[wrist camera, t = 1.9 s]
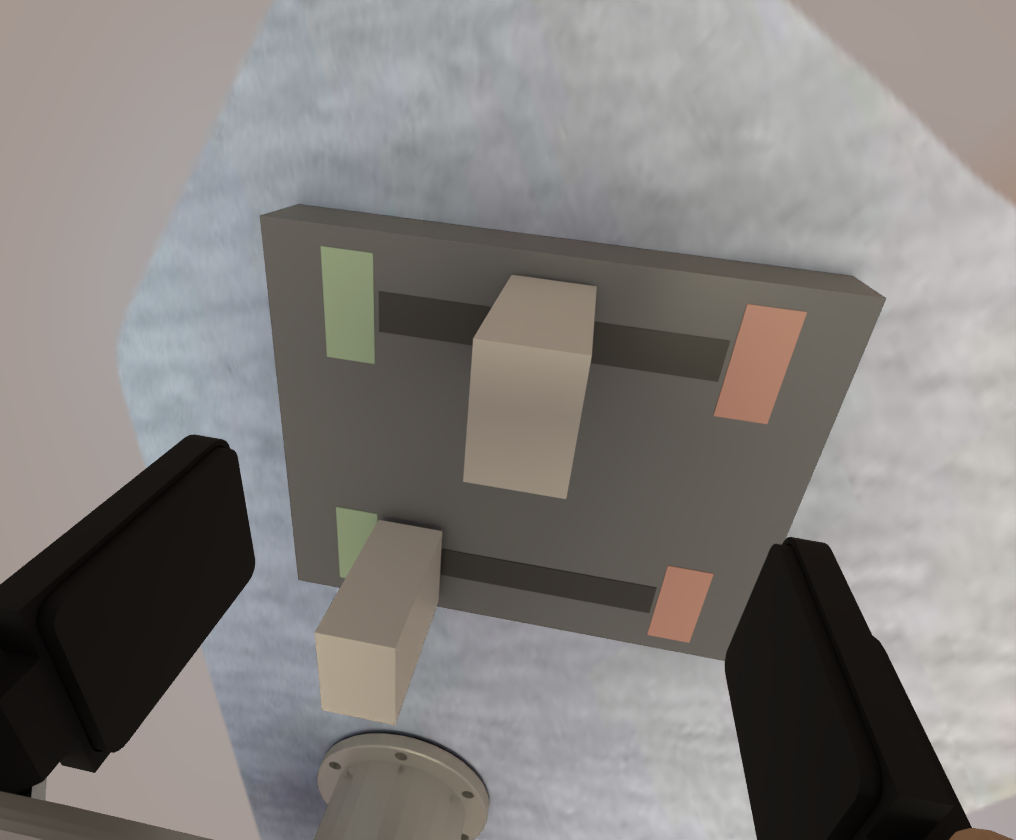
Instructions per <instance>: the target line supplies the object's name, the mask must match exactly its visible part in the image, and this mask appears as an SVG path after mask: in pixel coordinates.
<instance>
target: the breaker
mask: <svg viewBox="0 0 1016 840" xmlns="http://www.w3.org/2000/svg"><path fill="white" fill-rule="evenodd" d="M441 546H442V531H439V530H433V529H428V528H422V527H416V526H411V525H405V524H399V523H394V522H388V521H383V520H378V522H377V524H376V525H375V527H374V529H373V531H372V532H371V534H370V536H369V538H368V539H367V541H366V543H365V545H364V546H363V548H362V550H361V552H360V554H359V555H358V557H357V559H356V561H355V562H354V564H353V566H352V568H351V569H350V571H349V573H348V575H347V576H346V578H345V580H344V582H343V584H342V585H341V587H340V589H339V591H338V592H337V594H336V596H335V598H334V599H333V601H332V603H331V605H330V606H329V608H328V610H327V612H326V614H325V615H324V617H323V619H322V621H321V622H320V624H319V626H318V628H317V629H316V631H315V640H316V651H317V662H318V673H319V684H320V694H321V705H322V710H324V711H329V712H334V713H339V714H343V715H348V716H353V717H358V718H362V719H367V720H372V721H377V722H381V723H386V724H391V725H396V722H397V719H398V716H399V713H400V710H401V707H402V705H403V702H404V699H405V696H406V693H407V690H408V687H409V685H410V682H411V679H412V676H413V673H414V670H415V667H416V664H417V662H418V659H419V656H420V653H421V650H422V647H423V644H424V642H425V639H426V636H427V633H428V630H429V627H430V624H431V622H432V619H433V616H434V613H435V610H436V607H437V604H438V601H439V584H440V565H441Z"/></svg>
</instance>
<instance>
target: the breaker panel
mask: <svg viewBox="0 0 1016 840" xmlns="http://www.w3.org/2000/svg"><path fill="white" fill-rule="evenodd" d="M260 222H261V232H262V241H263V251H264V260H265V270H266V279H267V288H268V298H269V307H270V317H271V326H272V336H273V345H274V355H275V364H276V374H277V383H278V393H279V402H280V412H281V421H282V431H283V440H284V449H285V459H286V468H287V478H288V487H289V497H290V506H291V516H292V525H293V535H294V544H295V554H296V563H297V573H298V580H302V581H307V582H312V583H318V584H323V585H328V586H333V587H339V588H340V587H341V585H342V584H343V582H344V580H345V578H346V576H347V575H348V573H349V571H350V569H351V568H352V566H353V564H354V562H355V561H356V559H357V557H358V555H359V554H360V552H361V550H362V548H363V546H364V545H365V543H366V541H367V539H368V538H369V536H370V534H371V532H372V531H373V529H374V527H375V525H376V524H377V522H378V520H383V521H388V522H394V523H399V524H405V525H411V526H416V527H422V528H428V529H433V530H439V531H442V546H441V565H440V584H439V601H438V604H437V606H439V607H444V608H449V609H454V610H460V611H465V612H470V613H475V614H481V615H486V616H491V617H496V618H502V619H507V620H512V621H518V622H523V623H528V624H533V625H539V626H544V627H549V628H554V629H560V630H565V631H570V632H575V633H581V634H586V635H591V636H596V637H602V638H607V639H612V640H617V641H623V642H628V643H633V644H639V645H644V646H649V647H654V648H660V649H665V650H670V651H675V652H681V653H686V654H691V655H696V656H702V657H707V658H712V659H717V660H723V661H725V657H726V652H727V649H728V647H729V644H730V642H731V640H732V637H733V635H734V633H735V630H736V628H737V626H738V623H739V621H740V618H741V616H742V614H743V611H744V609H745V607H746V604H747V602H748V600H749V597H750V595H751V593H752V590H753V588H754V585H755V583H756V581H757V578H758V576H759V574H760V571H761V569H762V567H763V564H764V562H765V559H766V557H767V555H768V552H769V550H770V548H771V546H772V545H773V544H781V545H782V543H783V542H784V540H785V539H786V536H787V534H788V531H789V529H790V527H791V524H792V522H793V519H794V517H795V515H796V512H797V510H798V508H799V505H800V503H801V500H802V498H803V496H804V493H805V491H806V488H807V486H808V484H809V481H810V479H811V477H812V474H813V472H814V469H815V467H816V465H817V462H818V460H819V458H820V455H821V453H822V450H823V448H824V446H825V443H826V441H827V438H828V436H829V434H830V431H831V429H832V427H833V424H834V422H835V419H836V417H837V415H838V412H839V410H840V407H841V405H842V403H843V400H844V398H845V396H846V393H847V391H848V388H849V386H850V384H851V381H852V379H853V377H854V374H855V372H856V369H857V367H858V365H859V362H860V360H861V357H862V355H863V353H864V350H865V348H866V346H867V343H868V341H869V338H870V336H871V334H872V331H873V329H874V326H875V324H876V322H877V319H878V317H879V315H880V312H881V310H882V307H883V305H884V303H885V300H886V298H885V297H884V296H882V295H881V294H879V293H878V292H876V291H875V290H873V289H872V288H870V287H869V286H867V285H866V284H864V283H863V282H861V281H860V280H858V279H857V278H855V277H854V276H848V275H841V274H833V273H825V272H817V271H810V270H802V269H794V268H787V267H779V266H771V265H763V264H756V263H748V262H740V261H732V260H725V259H717V258H709V257H702V256H694V255H686V254H678V253H671V252H663V251H655V250H647V249H640V248H632V247H624V246H617V245H609V244H601V243H593V242H586V241H578V240H570V239H563V238H555V237H547V236H539V235H532V234H524V233H516V232H508V231H501V230H493V229H485V228H478V227H470V226H462V225H454V224H447V223H439V222H431V221H424V220H416V219H408V218H400V217H393V216H385V215H377V214H369V213H362V212H354V211H346V210H339V209H331V208H323V207H315V206H308V205H300V204H298V205H294V206H291V207H287V208H284V209H280V210H277V211H274V212H270V213H267V214H263V215H260ZM511 275H518V276H525V277H532V278H540V279H547V280H554V281H562V282H569V283H576V284H584V285H591V286H597V289H596V303H595V317H594V331H593V346H592V357H591V363H590V369H589V374H588V380H587V385H586V391H585V397H584V402H583V408H582V414H581V419H580V425H579V430H578V436H577V442H576V447H575V453H574V458H573V464H572V470H571V475H570V481H569V487H568V492H567V498H566V499H562V498H556V497H550V496H544V495H538V494H533V493H527V492H521V491H515V490H509V489H503V488H497V487H491V486H485V485H479V484H474V483H468V482H463V475H464V461H465V447H466V433H467V419H468V405H469V391H470V377H471V363H472V348H473V338H474V336H475V335H476V333H477V331H478V330H479V328H480V326H481V325H482V323H483V321H484V320H485V318H486V316H487V315H488V313H489V311H490V310H491V308H492V306H493V305H494V303H495V301H496V300H497V298H498V296H499V295H500V293H501V292H502V290H503V288H504V287H505V285H506V283H507V282H508V280H509V278H510V277H511Z"/></svg>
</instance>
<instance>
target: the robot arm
mask: <svg viewBox="0 0 1016 840" xmlns="http://www.w3.org/2000/svg"><path fill="white" fill-rule="evenodd" d="M254 568H255V556H254V550H253V544H252V538H251V532H250V527H249V521H248V515H247V509H246V503H245V497H244V491H243V486H242V480H241V474H240V468H239V462H238V457H237V453H236V452H235V451H234V450H232V449H230V447H229V444H228V443H227V442H226V441H225V440H222V439H217V438H211V437H205V436H200V435H189V436H187V437H185V438H184V439H183V440H181V441H180V442H179V443H178V444H176V445H175V446H174V447H173V448H171V449H170V450H169V451H168V452H166V453H165V454H164V455H163V456H161V457H160V458H159V459H158V460H156V461H155V462H154V463H152V464H151V465H150V466H149V467H147V468H146V469H145V470H144V471H142V472H141V473H140V474H139V475H137V476H136V477H135V478H134V479H132V480H131V481H130V482H129V483H127V484H126V485H125V486H124V487H122V488H121V489H120V490H119V491H117V492H116V493H115V494H114V495H112V496H111V497H110V498H108V499H107V500H106V501H105V502H103V503H102V504H101V505H100V506H98V507H97V508H96V509H95V510H93V511H92V512H91V513H90V514H88V515H87V516H86V517H85V518H83V519H82V520H81V521H80V522H78V523H77V524H76V525H75V526H73V527H72V528H71V529H70V530H68V531H67V532H66V533H65V534H63V535H62V536H61V537H60V538H58V539H57V540H56V541H55V542H53V543H52V544H51V545H49V546H48V547H47V548H46V549H44V550H43V551H42V552H41V553H39V554H38V555H37V556H36V557H35V558H33V559H32V560H31V561H29V562H28V563H27V564H26V565H25V566H23V567H22V568H21V569H19V570H18V571H17V572H15V573H14V574H13V575H12V576H11V577H9V578H8V579H7V580H5V581H4V582H3V583H2V584H0V840H212V839H208V838H204V837H199V836H195V835H191V834H187V833H182V832H178V831H174V830H170V829H165V828H161V827H157V826H152V825H148V824H144V823H140V822H135V821H131V820H126V819H123V818H118V817H114V816H110V815H105V814H101V813H97V812H93V811H88V810H84V809H80V808H75V807H71V806H67V805H63V804H58V803H53V802H48V801H45V796H46V781H47V776H48V775H49V774H50V773H51V772H52V770H53V769H54V768H55V767H56V766H57V764H58V763H59V762H60V763H61V764H62V765H63V766H68V767H72V768H77V769H80V770H85V771H89V772H93V773H95V772H96V771H97V770H98V768H99V767H100V766H101V764H102V763H103V762H104V760H105V759H106V758H107V756H108V755H109V754H110V753H111V752H113V753H114V752H116V751H119V750H120V749H121V748H123V747H124V746H125V744H126V743H127V742H128V741H129V740H130V738H131V737H132V736H133V734H134V733H135V732H136V730H137V729H138V728H139V726H140V725H141V723H142V722H143V721H144V719H145V718H146V717H147V716H148V714H149V713H150V712H151V710H152V709H153V708H154V706H155V705H156V704H157V702H158V701H159V700H160V699H161V697H162V696H163V695H164V693H165V692H166V690H167V689H168V688H169V686H170V685H171V684H172V682H173V681H174V680H175V678H176V677H177V676H178V675H179V673H180V672H181V671H182V669H183V668H184V667H185V665H186V664H187V663H188V661H189V660H190V659H191V657H192V656H193V655H194V653H195V652H196V651H197V649H198V648H199V647H200V645H201V644H202V643H203V641H204V640H205V639H206V637H207V636H208V635H209V633H210V632H211V631H212V629H213V628H214V627H215V625H216V624H217V623H218V622H219V620H220V619H221V618H222V616H223V615H224V614H225V612H226V611H227V610H228V608H229V607H230V606H231V604H232V603H233V602H234V600H235V599H236V598H237V596H238V595H239V594H240V592H241V591H242V590H243V588H244V587H245V586H246V584H247V583H248V582H249V580H250V579H251V577H252V574H253V572H254ZM725 675H726V680H727V685H728V690H729V695H730V701H731V706H732V711H733V716H734V721H735V727H736V732H737V737H738V742H739V747H740V753H741V758H742V763H743V768H744V773H745V779H746V784H747V789H748V794H749V799H750V805H751V810H752V815H753V820H754V826H755V831H756V836H757V840H1013V839H1011V838H1008V837H1006V836H1003V835H1001V834H998V833H996V832H993V831H990V830H982V829H976V828H972V827H971V825H970V823H969V821H968V819H967V817H966V815H965V813H964V810H963V808H962V806H961V804H960V802H959V800H958V798H957V796H956V794H955V792H954V790H953V788H952V786H951V784H950V782H949V780H948V778H947V776H946V774H945V772H944V770H943V767H942V765H941V763H940V761H939V759H938V757H937V755H936V753H935V751H934V749H933V747H932V745H931V743H930V741H929V739H928V737H927V735H926V733H925V731H924V729H923V727H922V725H921V722H920V720H919V718H918V716H917V714H916V712H915V710H914V708H913V706H912V704H911V702H910V700H909V698H908V696H907V694H906V692H905V690H904V688H903V686H902V684H901V682H900V680H899V677H898V675H897V673H896V671H895V669H894V667H893V665H892V663H891V661H890V659H889V657H888V655H887V653H886V651H885V649H884V648H883V646H882V645H881V643H880V641H879V640H877V639H876V638H875V637H874V636H872V634H871V632H870V630H869V627H868V625H867V623H866V621H865V619H864V617H863V615H862V613H861V611H860V609H859V607H858V604H857V602H856V600H855V598H854V596H853V594H852V592H851V590H850V588H849V586H848V584H847V581H846V579H845V577H844V575H843V573H842V571H841V569H840V567H839V565H838V563H837V561H836V558H835V556H834V554H833V552H832V550H831V549H830V547H829V546H828V545H827V544H825V543H822V542H816V541H810V540H805V539H799V538H793V537H788V538H786V539H785V540H784V542H783V543H782V545H781V544H773V545H772V546H771V548H770V550H769V552H768V555H767V557H766V559H765V562H764V564H763V567H762V569H761V571H760V574H759V576H758V578H757V581H756V583H755V585H754V588H753V590H752V593H751V595H750V597H749V600H748V602H747V604H746V607H745V609H744V611H743V614H742V616H741V618H740V621H739V623H738V626H737V628H736V630H735V633H734V635H733V637H732V640H731V642H730V644H729V647H728V649H727V652H726V657H725ZM317 782H318V788H319V791H320V793H321V795H322V798H323V799H324V801H325V802H326V804H327V805H328V806H327V808H326V810H325V813H324V815H323V818H322V820H321V823H320V825H319V828H318V830H317V833H316V835H315V837H314V840H473V839H475V838H476V837H477V836H479V834H480V833H481V832H482V830H483V829H484V827H485V824H486V821H487V816H488V809H489V799H488V794H487V791H486V789H485V787H484V785H483V783H482V782H481V780H480V779H479V778H478V777H477V775H476V774H475V773H474V772H473V771H472V770H471V769H470V768H469V767H468V766H467V765H466V764H465V763H464V762H462V761H461V760H459V759H458V758H456V757H455V756H453V755H452V754H450V753H449V752H447V751H445V750H443V749H441V748H439V747H437V746H435V745H432V744H430V743H427V742H424V741H421V740H419V739H415V738H411V737H406V736H402V735H395V734H387V733H369V734H363V735H356V736H353V737H350V738H347V739H344V740H342V741H340V742H338V743H337V744H335V745H334V746H332V747H331V749H330V750H329V751H328V752H327V753H326V755H325V757H324V759H323V761H322V763H321V765H320V768H319V771H318V775H317Z"/></svg>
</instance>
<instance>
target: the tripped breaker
mask: <svg viewBox="0 0 1016 840" xmlns="http://www.w3.org/2000/svg"><path fill="white" fill-rule="evenodd" d="M596 289H597V286H591V285H584V284H576V283H569V282H562V281H554V280H547V279H540V278H532V277H525V276H518V275H511V277H510V278H509V280H508V282H507V283H506V285H505V287H504V288H503V290H502V292H501V293H500V295H499V296H498V298H497V300H496V301H495V303H494V305H493V306H492V308H491V310H490V311H489V313H488V315H487V316H486V318H485V320H484V321H483V323H482V325H481V326H480V328H479V330H478V331H477V333H476V335H475V336H474V338H473V348H472V363H471V377H470V391H469V405H468V419H467V433H466V447H465V461H464V475H463V482H468V483H474V484H479V485H485V486H491V487H497V488H503V489H509V490H515V491H521V492H527V493H533V494H538V495H544V496H550V497H556V498H562V499H566V498H567V492H568V487H569V481H570V475H571V470H572V464H573V458H574V453H575V447H576V442H577V436H578V430H579V425H580V419H581V414H582V408H583V402H584V397H585V391H586V385H587V380H588V374H589V369H590V363H591V357H592V346H593V331H594V317H595V303H596Z"/></svg>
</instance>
